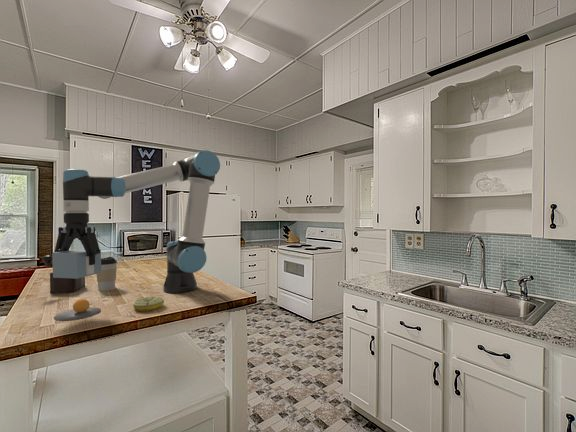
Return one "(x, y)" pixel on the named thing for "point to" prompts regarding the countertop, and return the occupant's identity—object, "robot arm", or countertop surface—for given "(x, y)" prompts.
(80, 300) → the ball
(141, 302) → the decorated donut
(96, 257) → the grey rectangular block
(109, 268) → the coffee cup
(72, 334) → the countertop surface
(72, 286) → the brown coffee grinder
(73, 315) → the disc
